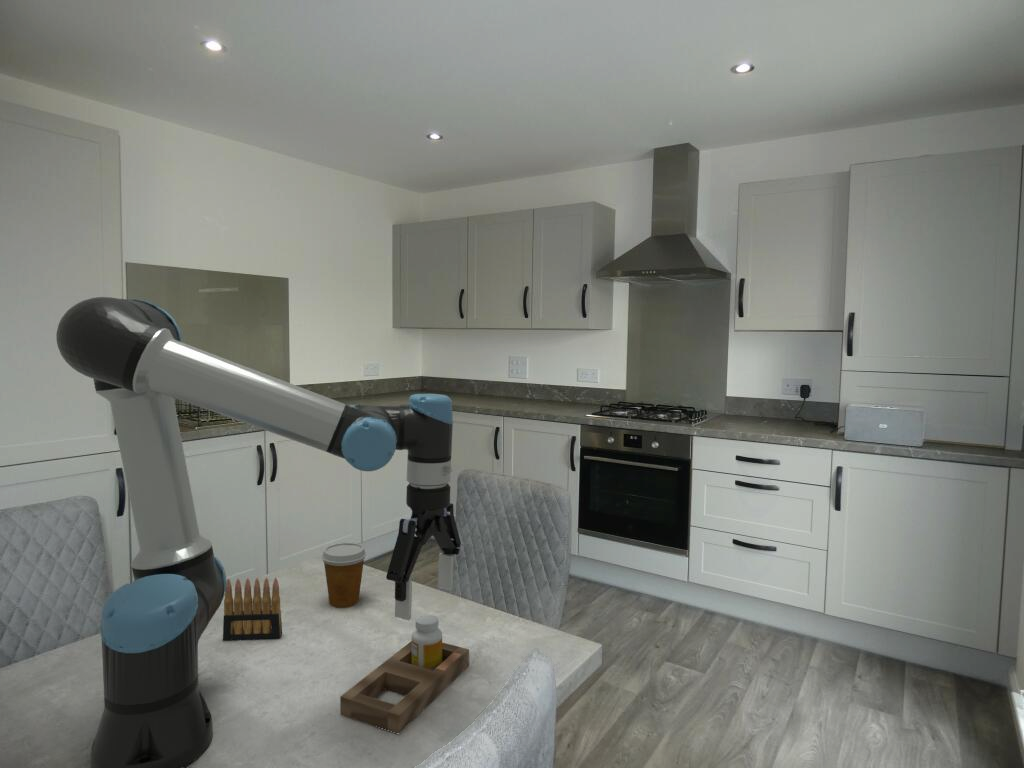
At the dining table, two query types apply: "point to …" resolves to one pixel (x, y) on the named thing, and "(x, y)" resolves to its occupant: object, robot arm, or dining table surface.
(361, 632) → the dining table surface
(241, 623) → the ammunition clip
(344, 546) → the disposable coffee cup
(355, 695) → the rack
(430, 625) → the supplement bottle
